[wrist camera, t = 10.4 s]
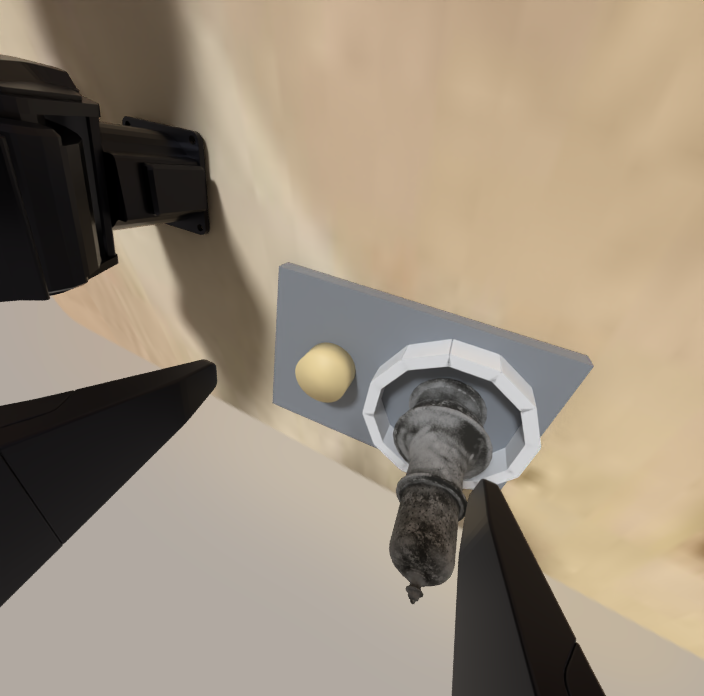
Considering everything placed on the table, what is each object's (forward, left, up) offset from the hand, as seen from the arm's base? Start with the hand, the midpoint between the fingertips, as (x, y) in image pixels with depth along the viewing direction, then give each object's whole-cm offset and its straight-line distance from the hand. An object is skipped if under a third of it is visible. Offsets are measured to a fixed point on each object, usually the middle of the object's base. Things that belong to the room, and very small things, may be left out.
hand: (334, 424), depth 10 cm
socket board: (+1, -7, -13) cm, 14 cm away
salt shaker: (+5, -7, -12) cm, 14 cm away
